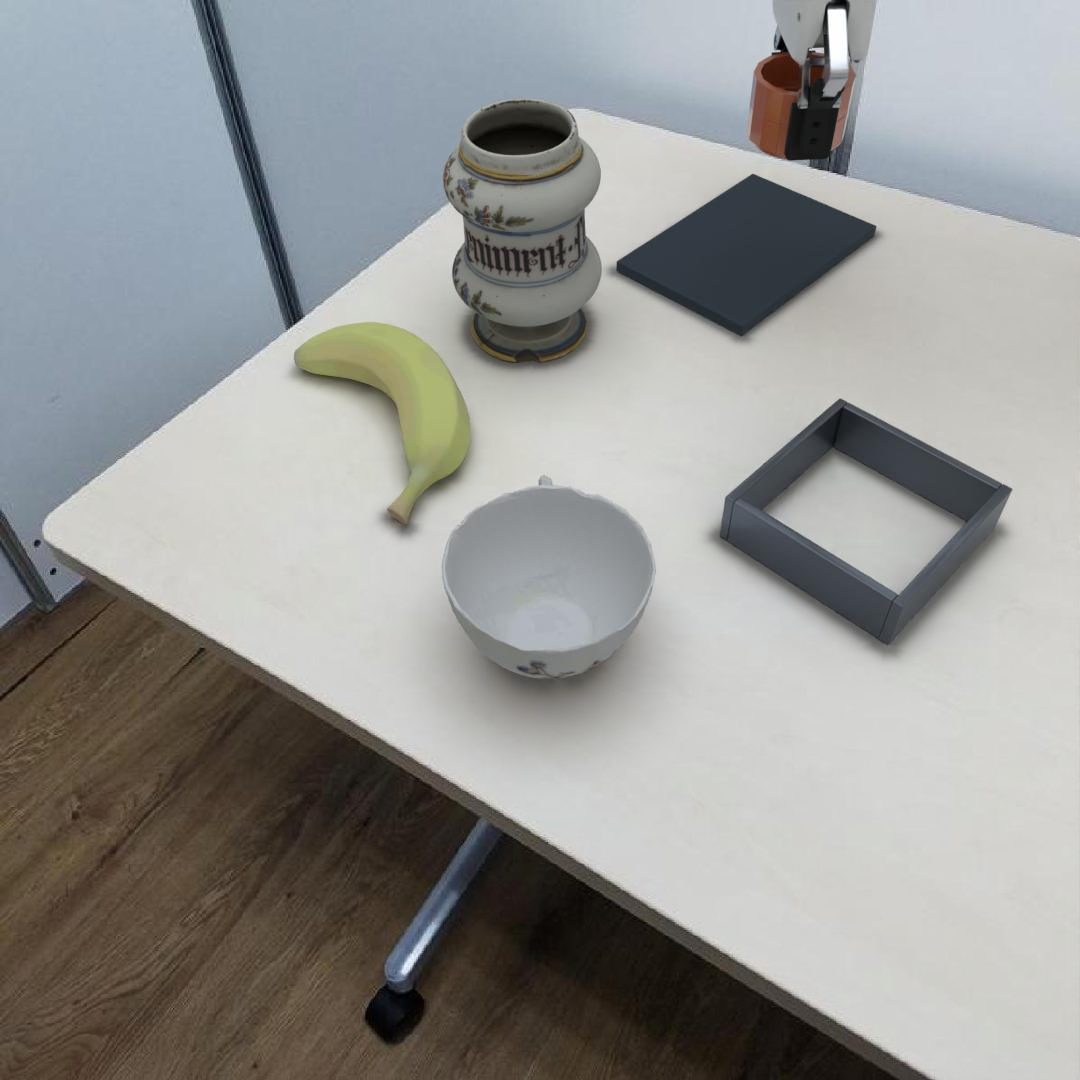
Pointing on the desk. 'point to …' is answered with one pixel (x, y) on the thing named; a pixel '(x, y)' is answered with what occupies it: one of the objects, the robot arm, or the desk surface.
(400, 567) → the desk surface
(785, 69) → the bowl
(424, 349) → the banana
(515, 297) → the apothecary jar
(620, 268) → the mat
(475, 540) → the teacup
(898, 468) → the square frame
